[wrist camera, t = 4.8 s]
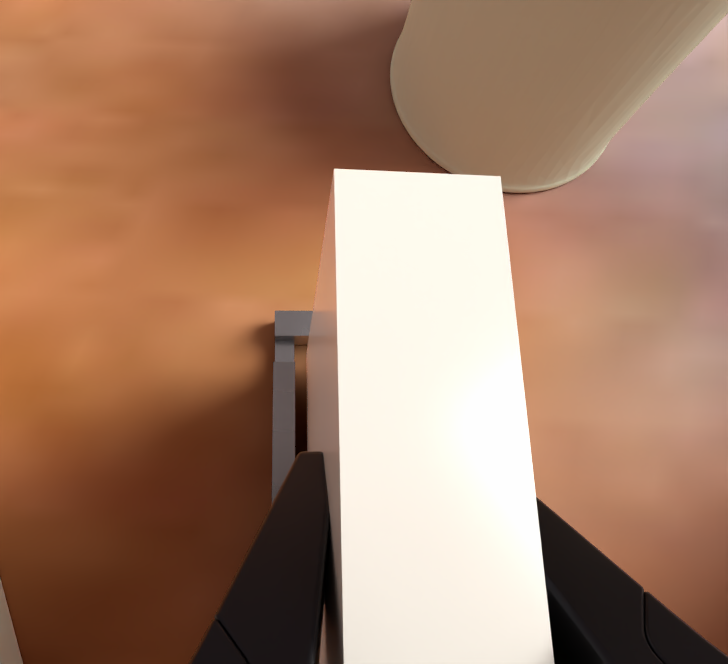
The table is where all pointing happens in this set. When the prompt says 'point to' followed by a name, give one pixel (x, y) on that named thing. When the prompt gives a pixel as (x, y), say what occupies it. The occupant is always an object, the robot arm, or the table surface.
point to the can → (535, 79)
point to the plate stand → (285, 390)
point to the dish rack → (7, 634)
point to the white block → (423, 428)
